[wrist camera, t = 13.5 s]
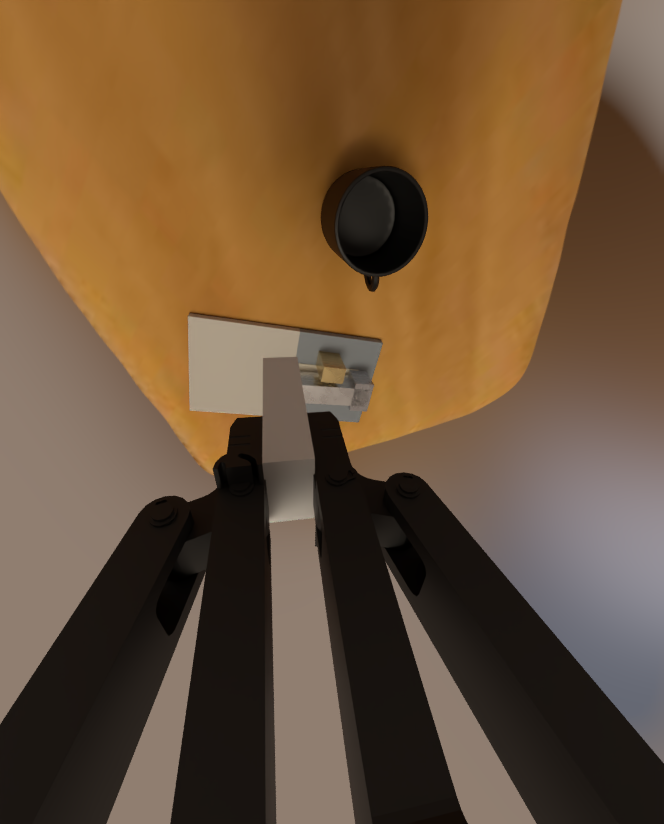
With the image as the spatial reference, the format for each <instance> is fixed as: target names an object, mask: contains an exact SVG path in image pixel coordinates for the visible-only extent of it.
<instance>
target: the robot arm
mask: <svg viewBox="0 0 664 824" xmlns="http://www.w3.org/2000/svg"><path fill="white" fill-rule="evenodd" d="M213 472H214V476H215V481H216V485H217V489H216V490H214V491H213V492H211V493H210V494H209V495H206V496H204V497H202V498H199V499H196V500H193V501H190V502H187V501H186V500H185V499H183V498H181V497H178V496H165V497H162V498H159V499H156V500H154V501H152V502H151V503H149V504H148V505H146V506H145V508H143V510H142V511H141V512H140V513H139V514H138V516H137V517H136V519H135V520H134V522H133V523H132V525H131V526H130V528H129V529H128V531H127V532H126V534H125V535H124V537H123V538H122V540H121V541H120V543H119V545H118V546H117V548H116V549H115V551H114V552H113V554H112V555H111V557H110V558H109V560H108V561H107V563H106V564H105V566H104V567H103V569H102V570H101V572H100V573H99V575H98V577H97V578H96V579H95V581H94V583H93V584H92V586H91V587H90V589H89V590H88V592H87V593H86V595H85V596H84V598H83V599H82V601H81V602H80V604H79V605H78V607H77V608H76V610H75V611H74V613H73V615H72V616H71V618H70V619H69V621H68V622H67V624H66V625H65V627H64V628H63V630H62V631H61V633H60V634H59V636H58V637H57V639H56V640H55V642H54V643H53V645H52V646H51V648H50V650H49V651H48V652H47V654H46V656H45V657H44V659H43V660H42V662H41V663H40V665H39V666H38V668H37V669H36V671H35V672H34V674H33V675H32V677H31V678H30V680H29V682H28V683H27V684H26V686H25V688H24V689H23V691H22V692H21V694H20V695H19V697H18V698H17V700H16V701H15V703H14V704H13V706H12V707H11V709H10V710H9V712H8V713H7V715H6V717H5V718H4V719H3V721H2V723H1V724H0V824H106V823H107V820H108V818H109V815H110V812H111V810H112V808H113V805H114V803H115V800H116V798H117V795H118V793H119V790H120V788H121V785H122V782H123V780H124V777H125V775H126V772H127V770H128V767H129V764H130V762H131V760H132V757H133V755H134V752H135V749H136V747H137V744H138V742H139V739H140V737H141V734H142V732H143V729H144V727H145V724H146V722H147V719H148V716H149V714H150V711H151V709H152V706H153V704H154V701H155V699H156V696H157V694H158V691H159V689H160V686H161V683H162V681H163V678H164V676H165V673H166V671H167V668H168V666H169V663H170V661H171V658H172V656H173V653H174V651H175V648H176V646H177V643H178V640H179V638H180V635H181V633H182V630H183V628H184V625H185V623H186V620H187V618H188V615H189V613H190V610H191V607H192V605H193V602H194V600H195V597H196V595H197V592H198V590H199V587H200V585H201V582H202V580H203V577H204V574H205V572H206V575H205V582H204V589H203V597H202V604H201V610H200V617H199V618H200V619H199V625H198V632H197V640H196V647H195V653H194V660H193V667H192V675H191V681H190V688H189V696H188V703H187V710H186V717H185V724H184V731H183V738H182V745H181V753H180V759H179V766H178V774H177V781H176V788H175V795H174V802H173V809H172V816H171V823H170V824H276V790H275V789H276V786H275V738H274V737H275V736H274V692H273V691H274V689H273V638H272V593H271V591H272V590H271V589H272V588H271V539H270V530H269V523H272V522H281V521H290V520H299V519H308V518H314V515H315V521H316V532H315V533H316V534H315V536H316V537H315V546H317V547H318V554H319V562H320V569H321V576H322V584H323V591H324V598H325V606H326V612H327V620H328V627H329V635H330V642H331V649H332V656H333V664H334V671H335V678H336V686H337V693H338V700H339V708H340V714H341V722H342V729H343V736H344V744H345V751H346V759H347V766H348V773H349V780H350V788H351V795H352V802H353V810H354V817H355V824H468V823H467V821H466V819H465V817H464V815H463V812H462V810H461V807H460V805H459V802H458V799H457V796H456V792H455V789H454V786H453V783H452V780H451V776H450V773H449V770H448V766H447V763H446V760H445V756H444V753H443V750H442V747H441V743H440V740H439V737H438V733H437V730H436V727H435V723H434V720H433V717H432V714H431V710H430V707H429V704H428V701H427V697H426V694H425V691H424V687H423V684H422V681H421V678H420V674H419V671H418V668H417V664H416V661H415V658H414V654H413V651H412V648H411V645H410V641H409V638H408V635H407V632H406V628H405V625H404V622H403V618H402V615H401V612H400V608H399V605H398V602H397V598H396V595H395V592H394V589H393V585H392V582H391V579H390V575H389V572H388V569H387V566H386V563H387V565H388V566H389V568H390V570H391V572H392V573H393V575H394V577H395V579H396V580H397V582H398V584H399V586H400V587H401V589H402V591H403V592H404V594H405V596H406V598H407V599H408V601H409V603H410V604H411V606H412V608H413V610H414V612H415V613H416V615H417V617H418V618H419V620H420V622H421V624H422V625H423V627H424V629H425V631H426V632H427V634H428V636H429V638H430V639H431V641H432V643H433V644H434V646H435V648H436V649H437V651H438V653H439V655H440V656H441V658H442V660H443V662H444V663H445V665H446V667H447V669H448V670H449V672H450V674H451V676H452V677H453V679H454V681H455V683H456V684H457V686H458V688H459V689H460V691H461V693H462V695H463V697H464V698H465V700H466V702H467V703H468V705H469V707H470V709H471V710H472V712H473V714H474V716H475V717H476V719H477V721H478V722H479V724H480V726H481V728H482V729H483V731H484V733H485V735H486V736H487V738H488V740H489V742H490V743H491V745H492V747H493V748H494V750H495V752H496V754H497V755H498V757H499V759H500V761H501V762H502V764H503V766H504V768H505V769H506V771H507V773H508V775H509V776H510V778H511V780H512V781H513V783H514V785H515V787H516V788H517V790H518V792H519V794H520V795H521V797H522V799H523V801H524V802H525V804H526V806H527V808H528V809H529V811H530V813H531V814H532V816H533V818H534V820H535V821H536V823H537V824H664V763H663V762H662V761H661V760H660V759H659V757H658V756H657V755H656V754H655V753H654V751H653V750H652V749H651V748H650V747H649V746H648V744H647V743H646V742H645V741H644V740H643V739H642V737H641V736H640V735H639V734H638V733H637V731H636V730H635V729H634V728H633V727H632V725H631V724H630V723H629V722H628V721H627V720H626V718H625V717H624V716H623V715H622V714H621V713H620V711H619V710H618V709H617V708H616V707H615V705H614V704H613V703H612V702H611V701H610V699H609V698H608V697H607V696H606V695H605V694H604V693H603V691H602V690H601V689H600V688H599V686H598V685H597V684H596V683H595V682H594V681H593V679H592V678H591V677H590V676H589V675H588V673H587V672H586V671H585V670H584V669H583V667H582V666H581V665H580V664H579V663H578V662H577V661H576V659H575V658H574V657H573V656H572V654H571V653H570V652H569V651H568V650H567V649H566V647H565V646H564V645H563V644H562V643H561V642H560V640H559V639H558V638H557V637H556V636H555V634H554V633H553V632H552V631H551V630H550V628H549V627H548V626H547V625H546V624H545V623H544V621H543V620H542V619H541V618H540V617H539V615H538V614H537V613H536V612H535V611H534V610H533V608H532V607H531V606H530V605H529V604H528V602H527V601H526V600H525V599H524V598H523V596H522V595H521V594H520V593H519V592H518V591H517V589H516V588H515V587H514V586H513V585H512V583H510V581H509V580H508V579H507V578H506V576H505V575H504V574H503V573H502V572H501V571H500V569H499V568H498V567H497V566H496V565H495V563H494V562H493V561H492V560H491V559H490V557H489V556H488V555H487V554H486V553H485V552H484V550H483V549H482V548H481V547H480V546H479V544H478V543H477V542H476V541H475V540H474V539H473V537H472V536H471V535H470V534H469V533H468V531H467V530H466V529H465V528H464V527H463V526H462V524H461V523H460V522H459V521H458V520H457V518H456V517H455V516H454V515H453V514H452V512H451V511H450V510H449V509H448V508H447V507H446V505H445V504H444V503H443V502H442V501H441V499H440V498H439V497H438V496H437V495H436V494H435V493H434V491H433V490H432V489H431V488H430V487H429V485H428V484H427V483H426V482H425V481H424V480H423V479H421V478H420V477H418V476H416V475H413V474H410V473H396V474H394V475H392V476H390V477H389V479H388V480H387V481H386V482H384V481H378V480H372V479H368V478H366V477H363V476H361V475H360V474H358V473H357V471H356V470H355V469H354V468H353V467H352V465H351V463H350V459H349V456H348V453H347V449H346V446H345V442H344V439H343V437H342V432H341V430H340V425H339V422H338V419H337V418H336V417H335V416H334V415H333V414H332V413H331V412H330V411H325V412H310V413H307V410H306V404H305V399H304V393H303V387H302V382H301V376H300V370H299V364H298V359H297V357H276V358H263V416H261V417H246V418H237V419H236V420H235V422H234V423H233V424H232V426H231V427H230V434H229V442H228V450H227V454H226V455H224V456H222V457H221V458H220V459H219V460H217V461H216V463H215V465H214V467H213ZM385 561H386V562H385Z"/></svg>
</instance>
